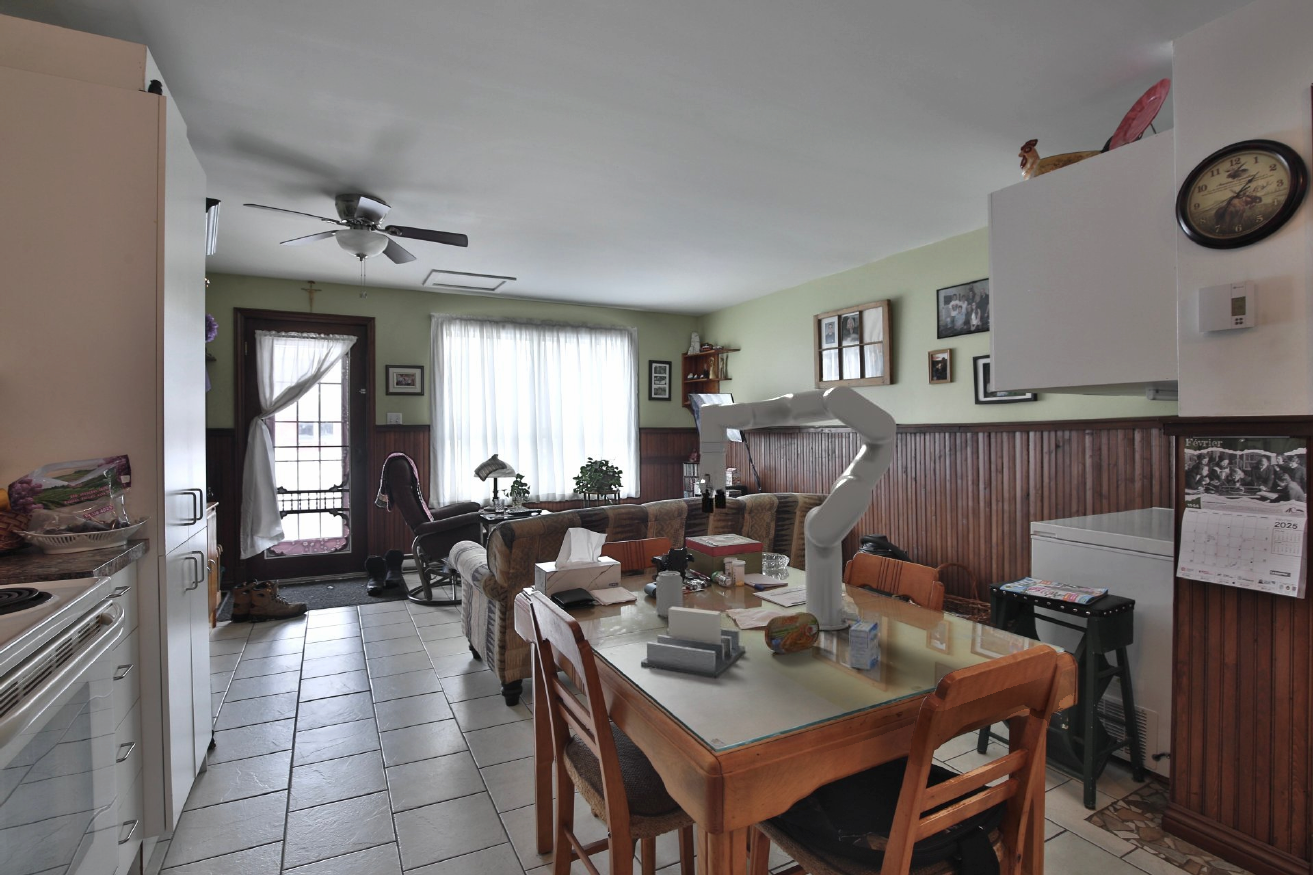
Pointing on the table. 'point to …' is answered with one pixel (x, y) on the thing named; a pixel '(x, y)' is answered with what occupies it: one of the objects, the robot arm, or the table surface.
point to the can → (668, 591)
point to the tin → (792, 632)
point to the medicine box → (863, 644)
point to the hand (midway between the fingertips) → (714, 510)
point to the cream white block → (695, 624)
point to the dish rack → (694, 654)
